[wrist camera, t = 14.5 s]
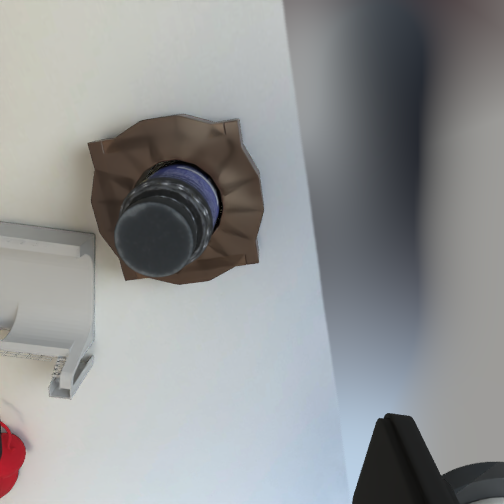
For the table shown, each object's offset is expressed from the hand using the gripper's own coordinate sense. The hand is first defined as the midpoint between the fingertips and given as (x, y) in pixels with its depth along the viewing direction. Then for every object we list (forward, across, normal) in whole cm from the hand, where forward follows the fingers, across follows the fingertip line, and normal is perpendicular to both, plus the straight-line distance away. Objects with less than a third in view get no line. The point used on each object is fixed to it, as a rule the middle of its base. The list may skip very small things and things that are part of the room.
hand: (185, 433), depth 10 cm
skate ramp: (+26, +19, +11) cm, 34 cm away
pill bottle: (+26, +4, 0) cm, 26 cm away
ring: (+26, +4, 0) cm, 26 cm away
